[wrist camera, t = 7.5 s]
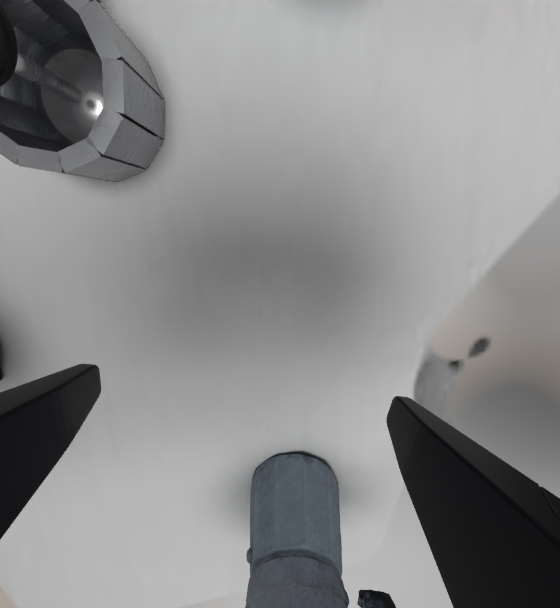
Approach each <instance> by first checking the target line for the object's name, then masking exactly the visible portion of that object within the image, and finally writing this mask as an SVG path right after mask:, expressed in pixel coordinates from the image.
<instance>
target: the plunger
mask: <svg viewBox="0 0 560 608" xmlns="http://www.w3.org/2000/svg"><path fill="white" fill-rule="evenodd" d="M14 72H15V73H17V74H19V75H21V76H23V77H24V78H26V79H28V80H30V81H32V82H34V83H36V84H38V85H40V86H41V96H42V101H43V104H44V107H45V110H46V112H47V114H48V116H49V118H50V120H51V121H52V123H53V124H54V126H55V127H56V128H57V129H58V130H59V131H60V132H61V134H63V135H64V136H65V137H66V138H67V139H69V140H70V141H72V142H74V143H75V144H76V143H78V142H80V141H82V140H84V139H86V138H87V137H88V135H89V133H90V132H91V130H92V128H93V126H94V124H95V122H96V120H97V118H98V116H99V114H100V112H101V110H102V108H103V106H104V98H103V77H102V60H101V58H100V57H98V56H96V55H95V54H93V53H91V52H88V51H85V50H81V49H67V50H63V51H61V52H59V53H57V54H55V55H54V56H53V57H52V58H51V59H50V60H49V61H48V63H47V64H46V66H45V68H44V67H43V66H41V65H39V64H38V63H36V62H34V61H33V60H31V59H30V58H28V57H26V56H25V55H23V54H21V53H20V52H18V47H17V40H16V36H15V32H14V29H13V27H12V24H11V22H10V20H9V18H8V16H7V14H6V13H5V11H4V9H3V8H2V6H1V5H0V87H1V86H2V85H4V84H5V83H6V82H7V81H8V80H9V79H10V78H11V77H12V75H13V73H14Z"/></svg>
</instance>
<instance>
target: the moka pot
mask: <svg viewBox="0 0 560 608" xmlns="http://www.w3.org/2000/svg"><path fill="white" fill-rule="evenodd" d="M250 508H251V509H250V548H249V550H248V551H247V562H248V563H250V579H249V584H248V591H247V598H246V607H245V608H347V607H348V604H349V599H348V595H347V592H346V591H345V589H344V585H343V581H342V579H341V575H342V556H341V552H342V547H341V534H340V513H339V489H338V481H337V479H336V477H335V475H334V473H333V472H332V470H331V469H330V468H329V467H328V466H327V465H326V464H324V463H323V462H322V461H320V460H318V459H315V458H313V457H310V456H306V455H303V454H286V455H279V456H276V457H273V458H270V459H269V460H267V461H266V462H264V463H262V465H260V466H259V467H258V468H257V469H256V471H255V472H254V475H253V479H252V486H251V499H250ZM358 605H359V606H360V607H361V608H396V607H395V604H394V602H393V601H392V599H391V597H390V595H389V594H387V593H384V592H380V591H373V590H360V591H359V598H358Z"/></svg>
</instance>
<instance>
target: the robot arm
mask: <svg viewBox="0 0 560 608" xmlns="http://www.w3.org/2000/svg"><path fill="white" fill-rule="evenodd" d="M1 380H2V374H1V370H0V381H1ZM100 392H101V383H100V372H99V368H98V366H96V365H92V364H79V365H76V366H73V367H71V368H68V369H65V370H62V371H59V372H57V373H54V374H51V375H48V376H45V377H43V378H40V379H37V380H34V381H31V382H29V383H26V384H23V385H20V386H17V387H15V388H12V389H9V390H6V391H4V392H1V393H0V539H1V538H2V536H3V535H4V534H5V532H6V531H7V530H8V528H9V527H10V526H11V524H12V523H13V522H14V520H15V519H16V518H17V516H18V515H19V513H20V512H21V511H22V509H23V508H24V507H25V505H26V504H27V503H28V501H29V500H30V499H31V497H32V496H33V494H34V493H35V492H36V490H37V489H38V488H39V486H40V485H41V484H42V482H43V481H44V480H45V478H46V477H47V476H48V474H49V473H50V471H51V470H52V469H53V467H54V466H55V465H56V463H57V462H58V461H59V459H60V458H61V457H62V455H63V454H64V452H65V451H66V450H67V448H68V447H69V445H70V444H71V442H72V441H73V439H74V437H75V436H76V434H77V432H78V431H79V429H80V427H81V426H82V424H83V422H84V421H85V419H86V417H87V416H88V414H89V412H90V411H91V409H92V407H93V406H94V404H95V402H96V401H97V399H98V397H99V395H100ZM387 426H388V430H389V433H390V437H391V440H392V444H393V447H394V451H395V454H396V458H397V461H398V465H399V468H400V471H401V474H402V477H403V479H404V482H405V485H406V487H407V490H408V492H409V495H410V497H411V500H412V503H413V505H414V508H415V510H416V513H417V515H418V518H419V520H420V523H421V525H422V528H423V531H424V533H425V536H426V538H427V541H428V543H429V546H430V548H431V551H432V553H433V556H434V559H435V561H436V564H437V566H438V569H439V571H440V574H441V577H442V579H443V582H444V584H445V587H446V589H447V592H448V594H449V597H450V599H451V602H452V604H453V607H454V608H560V498H558V497H557V496H555V495H554V494H552V493H550V492H549V491H548V490H546V489H545V488H543V487H539V485H538V484H537V483H535V482H534V481H532V480H531V479H530V478H528V477H526V476H525V475H524V474H522V473H521V472H519V471H518V470H516V469H515V468H513V467H512V466H510V465H509V464H507V463H506V462H504V461H503V460H501V459H500V458H498V457H497V456H495V455H494V454H492V453H491V452H489V451H488V450H486V449H485V448H483V447H482V446H480V445H479V444H477V443H476V442H474V441H473V440H471V439H470V438H468V437H467V436H465V435H464V434H462V433H461V432H459V431H458V430H457V429H455V428H454V427H452V426H451V425H449V424H448V423H446V422H445V421H443V420H442V419H440V418H439V417H437V416H436V415H434V414H433V413H431V412H430V411H428V410H427V409H425V408H424V407H422V406H421V405H419V404H418V403H416V402H415V401H413V400H412V399H410V398H408V397H401V396H396V397H394V398H393V400H392V403H391V406H390V409H389V412H388V415H387Z"/></svg>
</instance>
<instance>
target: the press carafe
mask: <svg viewBox="0 0 560 608" xmlns="http://www.w3.org/2000/svg"><path fill="white" fill-rule="evenodd" d="M0 5H1V6H2V8H3V9H4V11H5V13H6V14H7V16H8V18H9V20H10V22H11V24H12V27H13V29H14V32H15V36H16V40H17V47H18V52H20V53H21V54H23V55H25V56H26V57H28V58H30V59H31V60H33V61H34V62H36V63H38V64H39V65H41V66H43V67H44V68H45V66H46V64H47V63H48V61H49V60H50V59H51V58H52V57H53V56H54V55H55V54H57V53H59V52H61V51H63V50H67V49H81V50H85V51H88V52H91V53H93V54H95V55H96V56H98V57H100V58H101V60H102V77H103V98H104V106H103V108H102V110H101V112H100V114H99V116H98V118H97V120H96V122H95V124H94V126H93V128H92V130H91V132H90V133H89V135H88V137H87V138H86V139H84V140H82V141H80V142H78V143H76V144H75V143H74V142H72V141H70V140H69V139H67V138H66V137H65V136H64V135H63V134H61V132H60V131H59V130H58V129H57V128H56V127H55V126H54V124H53V123H52V121H51V120H50V118H49V116H48V114H47V112H46V110H45V107H44V104H43V101H42V96H41V86H40V85H38V84H36V83H34V82H32V81H30V80H28V79H26V78H24V77H23V76H21V75H19V74H17V73H15V72H14V73H13V75H12V77H11V78H10V79H9V80H8V81H7V82H6V83H5V84H4V85H2V86H1V87H0V154H1V155H3V156H4V157H6V158H7V159H9V160H10V161H11V162H13V163H14V164H17V165H19V166H23V167H29V168H35V169H41V170H47V171H53V172H58V173H64V174H70V175H77V176H83V177H89V178H95V179H101V180H107V181H113V182H117V181H118V182H120V181H122V180H124V179H126V178H129V177H131V176H133V175H136V174H138V173H140V172H142V171H145V168H148V167H149V165H150V163H151V162H152V160H153V158H154V157H155V155H156V153H157V152H158V150H159V148H160V147H161V145H162V143H163V141H162V139H164V116H165V102H164V101H163V99H164V98H163V96H162V93H161V91H160V89H159V86H158V84H157V82H156V80H155V77H154V75H153V73H152V71H151V68H150V66H149V64H148V62H147V60H146V59H145V57H144V56H143V55H142V54H141V52H140V51H139V50H138V49H137V48H136V47H135V45H134V44H133V43H132V42H131V41H130V39H129V38H128V37H127V36H126V35H125V34H124V32H123V31H122V30H121V29H120V28H119V26H118V25H117V24H116V23H115V22H114V20H113V19H112V18H111V17H110V16H109V15H108V13H107V12H106V11H105V10H104V9H103V7H102V6H101V5H100V4H99V3H98V1H97V0H0Z"/></svg>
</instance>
